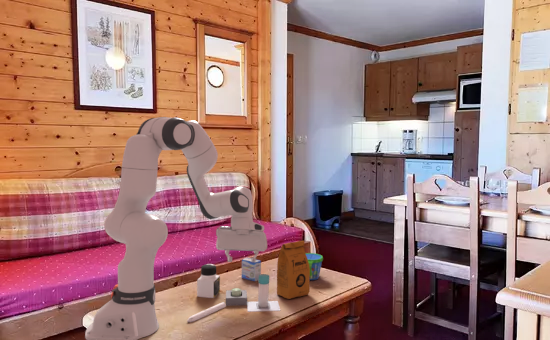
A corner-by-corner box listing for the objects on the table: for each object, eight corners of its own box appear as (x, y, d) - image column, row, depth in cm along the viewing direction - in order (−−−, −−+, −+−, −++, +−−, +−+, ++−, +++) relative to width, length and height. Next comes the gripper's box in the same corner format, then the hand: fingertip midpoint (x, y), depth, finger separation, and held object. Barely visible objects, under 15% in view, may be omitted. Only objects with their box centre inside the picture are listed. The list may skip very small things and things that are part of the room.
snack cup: (318, 285, 182) (319, 262, 181) (295, 282, 185) (295, 259, 184) (325, 274, 197) (325, 252, 196) (303, 271, 200) (303, 250, 199)
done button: (231, 299, 160) (231, 291, 160) (231, 295, 164) (231, 288, 164) (241, 298, 161) (241, 291, 160) (240, 295, 164) (240, 288, 164)
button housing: (225, 305, 158) (225, 298, 158) (226, 297, 166) (226, 290, 166) (247, 305, 159) (247, 297, 159) (246, 297, 167) (246, 289, 166)
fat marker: (258, 307, 156) (259, 277, 155) (257, 303, 160) (258, 274, 159) (268, 307, 156) (269, 277, 155) (267, 303, 160) (268, 274, 159)
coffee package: (312, 296, 169) (314, 242, 167) (287, 302, 162) (288, 246, 160) (298, 288, 177) (299, 237, 175) (273, 294, 171) (274, 240, 169)
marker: (189, 325, 142) (189, 318, 142) (184, 323, 143) (184, 316, 143) (225, 308, 157) (225, 302, 156) (221, 306, 158) (221, 300, 158)
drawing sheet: (247, 311, 153) (247, 311, 153) (246, 302, 162) (246, 301, 162) (280, 311, 154) (280, 310, 154) (277, 301, 163) (277, 300, 163)
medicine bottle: (214, 298, 165) (214, 268, 164) (196, 297, 166) (196, 267, 165) (220, 292, 172) (220, 263, 171) (203, 290, 173) (203, 262, 172)
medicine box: (241, 278, 189) (241, 259, 189) (247, 275, 193) (247, 257, 192) (255, 281, 185) (255, 262, 184) (261, 279, 188) (261, 260, 188)
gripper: (217, 224, 163) (216, 260, 158) (268, 226, 169) (268, 261, 164) (214, 227, 169) (214, 262, 164) (263, 229, 175) (264, 263, 170)
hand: (241, 262), depth 164 cm, fingers open, 8 cm apart
